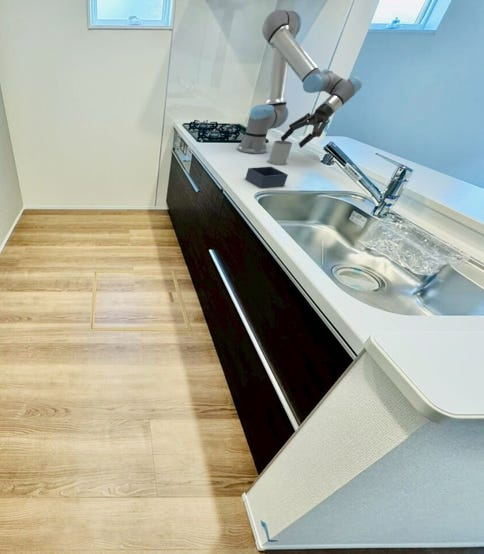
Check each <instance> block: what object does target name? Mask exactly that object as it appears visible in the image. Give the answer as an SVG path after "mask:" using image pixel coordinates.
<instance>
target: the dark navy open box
mask: <svg viewBox="0 0 484 554" xmlns="http://www.w3.org/2000/svg"><path fill="white" fill-rule="evenodd" d="M288 176H289V174H288V173H286V172H283V171H282V170H279V169H277V168H275V167H273V166H259V167H248V168H247V171H246V175H245V180H246V181H248V182H249V183H250V184H253V185H255V186H256V187H258V188H260V189H265V188H275V187H284V186H285V184H286V182H287V179H288Z"/></svg>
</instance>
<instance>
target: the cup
mask: <svg viewBox="0 0 484 554" xmlns="http://www.w3.org/2000/svg"><path fill="white" fill-rule="evenodd" d="M292 145H293V142H291V141H287V140H285V141H282V140H275V141H273V144H272V147H271V152H270V155H269V158H268V161H267V162H268V163H269V164H270V165H271V164H272V165H277V166H278V165H279V166H282V165H286V164H287V161H288V157H289V155H290V151H291V148H292Z"/></svg>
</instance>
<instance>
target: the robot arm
mask: <svg viewBox="0 0 484 554" xmlns="http://www.w3.org/2000/svg"><path fill="white" fill-rule="evenodd" d="M302 23H303V22H302V16H301V15H300V14H299V13H298V12H296V11H294V10H285V9H275V10H274V11H272V12H271V13H269V14H268V15H267V16H266V18H265V19H264V21H263V24H262V29H261V30H262V31H261V32H262V35H263V37H264V39H265V40H266V42H267V44H268V45H269V46H270V48H271V49H272V54H271V62H270V63H271V64H270V71H269V81H268V90H267V97H266V98H267V99H266V101H265V102H264V104H258V105H254V106H253V107H252V108H251V110H250V112H249V115H248V120H247V124H246V130H245V132H244V136H243V138H242V140H241V142H240V144H238V151H240V152H242V153H246V154H263V153H266V150H267V135H268V131H269V130H272V129H277V128H280V127H281V126H283V125H284V124H285V123H286V122H287V120H288V118H289V115H290V114H289V109H288V107H287V100H286V98H285V93H286V85H287V80H288V79H287V78H288V71H289V67H290V69H291V70H292V71H293V72H294V74H295V75H296V77H298V79H299V80H300V82H302V89H303V91H304V92H305V93H309V94H315V93H321V92H322V93H323V92H324V93H326V94H328V95H329V96H328V97H327V98H326V99H325V100H324V101H323V102H322V103H321V104H320V105H319V106H317V108H315V111H314V113H310V112H307V113H306V114H305V115H304V116H302V117H300V118H298V119H297V120H295V121H293V122H292V123H290V124H289V125H288V130H287V131H285V133H284V134H282V136H280V141H287V139H288V138H289V137H290V136H291V135H292V134H293V133H294V132H295V131H297V130H299V129H301V128H303V127H306V126H313V128H312V132H309V134H307V135H306V136H305V137H304V138H303V139H302V140H301V141H300V142H298V145H299V148H300V149H301V148H303V147H304V146H306V145H307V143H310V142H311V141H312V140H313V139H314V138H316V137H317V138H320V137H321V135H322V133H323V132H324V130H325V129H326V127H327V125H328V124H329V123H330V122H331V121H330V120H331V119H330V117H332V116H333V114H335V113H336V112H338V110H339V109H340V108H342V107H343V106H344V105H345V104H346V103H347V102H348V101H349V100H350V99H352V98H353V97H354V96H355V95H356V94H357V93H358V92H359V91H360V90H361V89H362V86H363V83H362V81H361V79H360V78H358V77H357V76H351V77H349V78H348V79H346V78H343V77H342V76H340V75H339V74H337V73H335V72H333V70H330V69H327V68H325V69H322V70H321V69H320V68H319V67H318V66H317V64H316V63H315V62H314V60H313V59H312V58H311V57H310V56H309V54H308V53H307V51H305V49H304V48H303V47H302V45H301V44H300V43H299V42H298V40H297V39H296V38H297V35H298V34H299V32H300V31H301V29H302V28H301V27H302Z"/></svg>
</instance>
